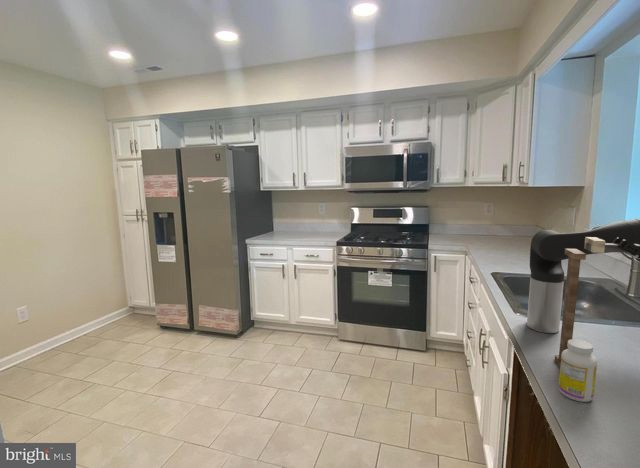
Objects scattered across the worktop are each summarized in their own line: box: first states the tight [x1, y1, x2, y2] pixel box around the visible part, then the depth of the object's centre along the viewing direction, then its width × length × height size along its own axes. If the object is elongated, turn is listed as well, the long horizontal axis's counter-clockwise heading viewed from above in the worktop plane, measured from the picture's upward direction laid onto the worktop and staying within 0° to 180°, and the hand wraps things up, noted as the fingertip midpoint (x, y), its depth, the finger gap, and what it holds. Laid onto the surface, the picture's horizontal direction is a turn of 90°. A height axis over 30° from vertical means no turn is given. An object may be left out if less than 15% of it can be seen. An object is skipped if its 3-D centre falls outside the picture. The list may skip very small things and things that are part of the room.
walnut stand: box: [554, 249, 587, 368], centre depth 89 cm, size 6×2×32 cm, turn 162°
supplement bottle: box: [558, 338, 598, 403], centre depth 79 cm, size 7×7×13 cm
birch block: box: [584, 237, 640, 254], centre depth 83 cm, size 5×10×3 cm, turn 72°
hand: (617, 242), depth 83 cm, fingers closed on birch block, 2 cm apart
